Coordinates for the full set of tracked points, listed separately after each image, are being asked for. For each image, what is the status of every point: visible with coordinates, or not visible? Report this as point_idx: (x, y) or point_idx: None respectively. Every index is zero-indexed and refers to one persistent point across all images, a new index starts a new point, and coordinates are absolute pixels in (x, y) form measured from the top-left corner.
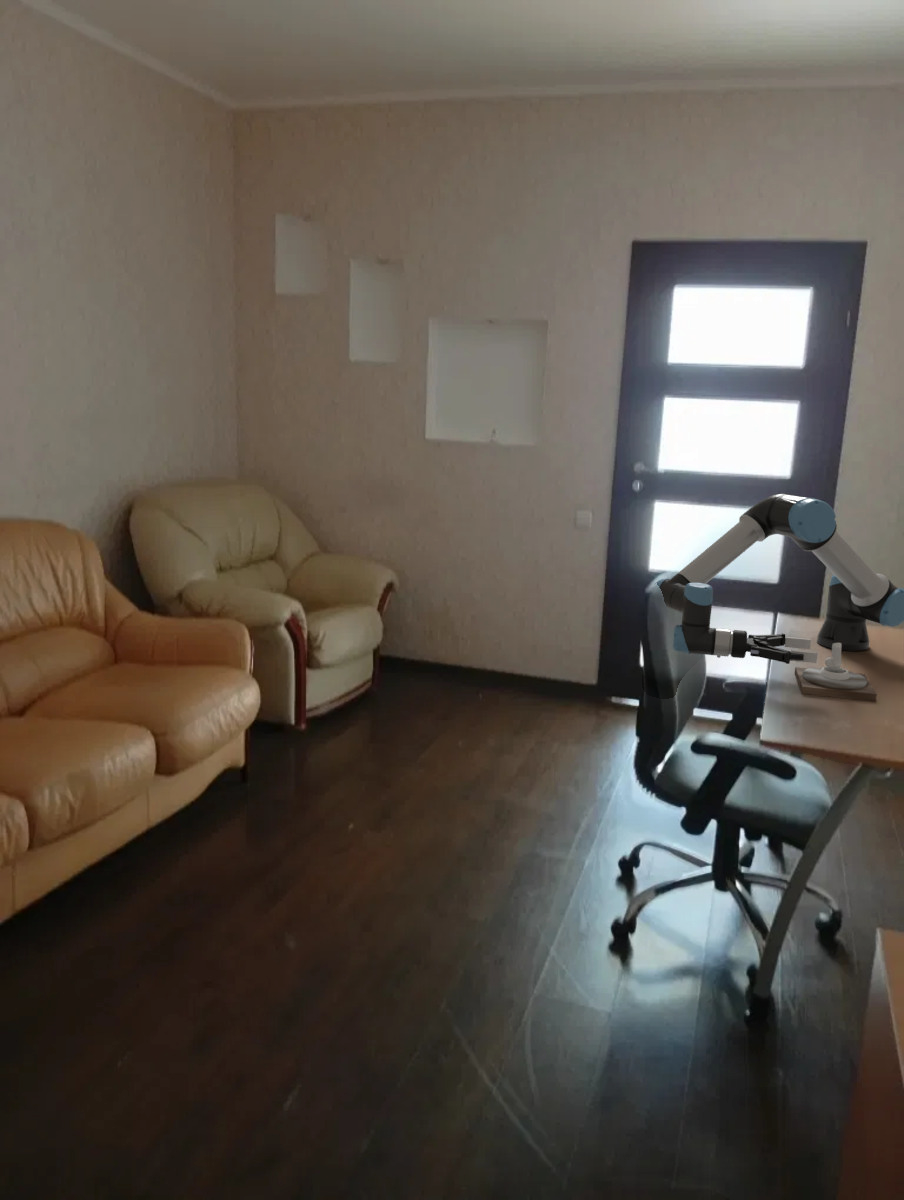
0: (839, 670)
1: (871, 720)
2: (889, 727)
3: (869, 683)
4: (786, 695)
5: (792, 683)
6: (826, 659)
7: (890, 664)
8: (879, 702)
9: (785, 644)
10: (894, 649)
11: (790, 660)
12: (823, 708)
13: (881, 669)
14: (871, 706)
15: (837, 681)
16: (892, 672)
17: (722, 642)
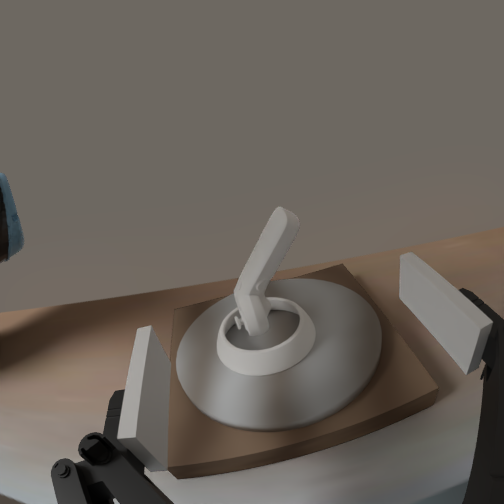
0: (228, 327)
1: (471, 256)
2: (474, 237)
3: None
4: None
5: (321, 469)
6: (259, 314)
7: (64, 307)
8: None
9: (160, 460)
10: (2, 312)
11: (476, 365)
12: None
13: (92, 313)
14: (387, 276)
15: (331, 318)
16: (109, 299)
17: None
